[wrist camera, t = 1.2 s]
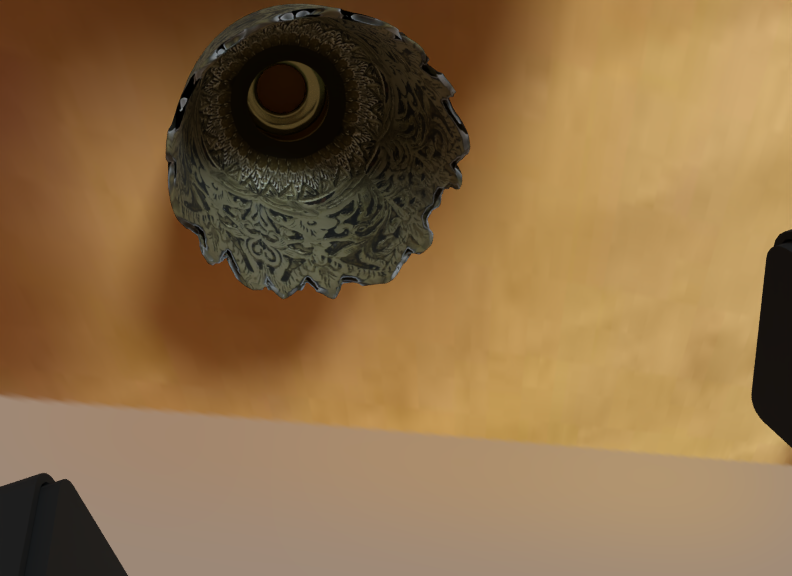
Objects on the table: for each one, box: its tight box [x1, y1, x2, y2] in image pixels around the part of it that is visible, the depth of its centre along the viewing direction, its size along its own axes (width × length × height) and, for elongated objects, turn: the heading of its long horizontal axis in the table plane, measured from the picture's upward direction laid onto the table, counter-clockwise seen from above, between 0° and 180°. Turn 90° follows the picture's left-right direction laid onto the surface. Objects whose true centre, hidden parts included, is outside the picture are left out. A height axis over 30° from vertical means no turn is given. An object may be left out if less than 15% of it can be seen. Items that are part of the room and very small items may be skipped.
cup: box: [166, 4, 470, 299], centre depth 21 cm, size 8×7×8 cm
